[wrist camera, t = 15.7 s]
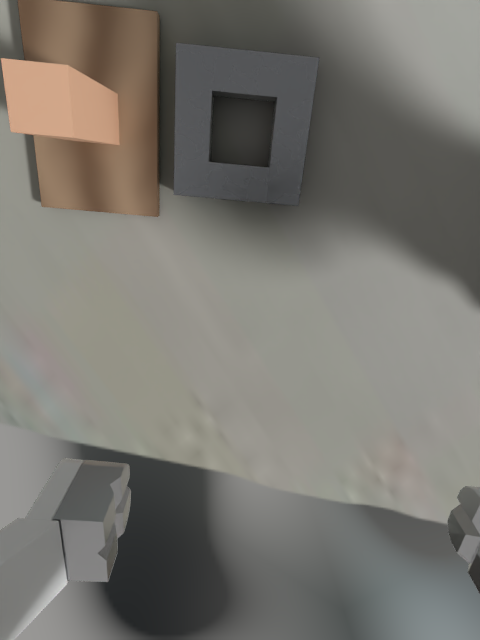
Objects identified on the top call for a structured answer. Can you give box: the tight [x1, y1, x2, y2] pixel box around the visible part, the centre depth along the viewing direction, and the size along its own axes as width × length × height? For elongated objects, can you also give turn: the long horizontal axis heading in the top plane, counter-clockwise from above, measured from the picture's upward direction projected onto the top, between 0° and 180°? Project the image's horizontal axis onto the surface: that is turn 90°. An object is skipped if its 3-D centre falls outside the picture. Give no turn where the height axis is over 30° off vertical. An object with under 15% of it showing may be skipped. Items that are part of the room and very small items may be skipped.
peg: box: [1, 58, 120, 145], centre depth 28 cm, size 4×4×10 cm
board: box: [18, 0, 160, 217], centre depth 33 cm, size 11×16×1 cm
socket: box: [174, 43, 319, 206], centre depth 33 cm, size 11×11×2 cm
